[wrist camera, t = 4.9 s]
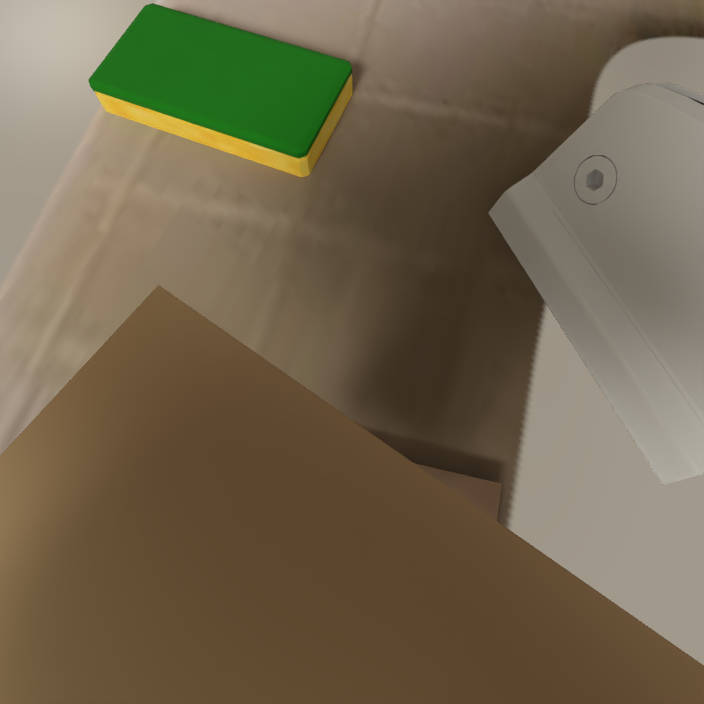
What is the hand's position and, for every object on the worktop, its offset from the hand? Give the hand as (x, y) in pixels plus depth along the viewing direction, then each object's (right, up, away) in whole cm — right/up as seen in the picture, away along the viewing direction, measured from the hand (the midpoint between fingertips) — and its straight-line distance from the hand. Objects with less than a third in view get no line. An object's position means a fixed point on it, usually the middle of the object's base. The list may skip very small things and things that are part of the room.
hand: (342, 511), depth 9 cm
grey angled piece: (+15, +5, +16) cm, 22 cm away
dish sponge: (-7, +18, +21) cm, 29 cm away
